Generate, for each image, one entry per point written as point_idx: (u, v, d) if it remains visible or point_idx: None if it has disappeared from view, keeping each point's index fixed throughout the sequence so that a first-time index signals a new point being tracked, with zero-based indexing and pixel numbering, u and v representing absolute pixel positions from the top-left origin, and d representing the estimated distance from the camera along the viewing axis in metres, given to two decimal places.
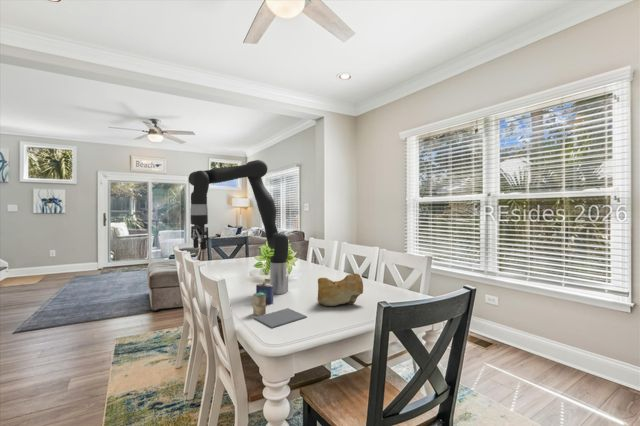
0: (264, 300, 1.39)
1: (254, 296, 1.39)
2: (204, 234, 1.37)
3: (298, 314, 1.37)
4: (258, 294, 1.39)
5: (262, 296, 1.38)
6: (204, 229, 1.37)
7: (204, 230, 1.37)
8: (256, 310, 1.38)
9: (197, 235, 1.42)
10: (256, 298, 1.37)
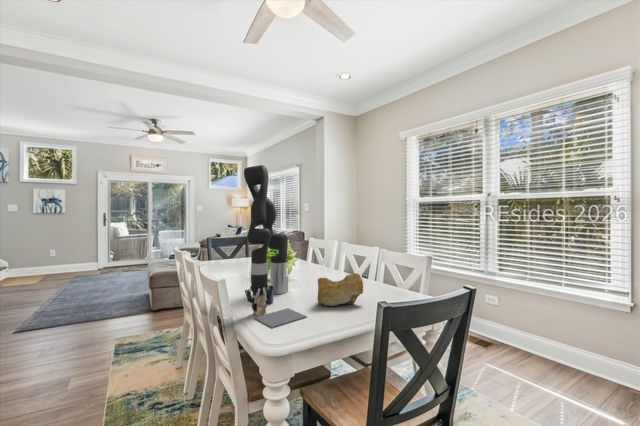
0: (264, 300, 1.39)
1: None
2: None
3: (298, 314, 1.37)
4: None
5: (262, 296, 1.38)
6: None
7: None
8: None
9: None
10: None
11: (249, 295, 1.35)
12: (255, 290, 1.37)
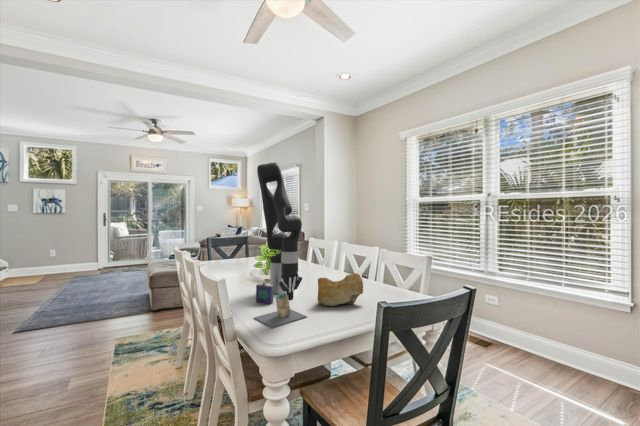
0: (287, 301, 1.34)
1: (276, 298, 1.34)
2: None
3: (298, 314, 1.37)
4: (280, 295, 1.34)
5: (285, 298, 1.33)
6: None
7: None
8: (280, 312, 1.33)
9: (291, 283, 1.36)
10: (279, 300, 1.32)
11: (282, 285, 1.33)
12: (286, 280, 1.34)
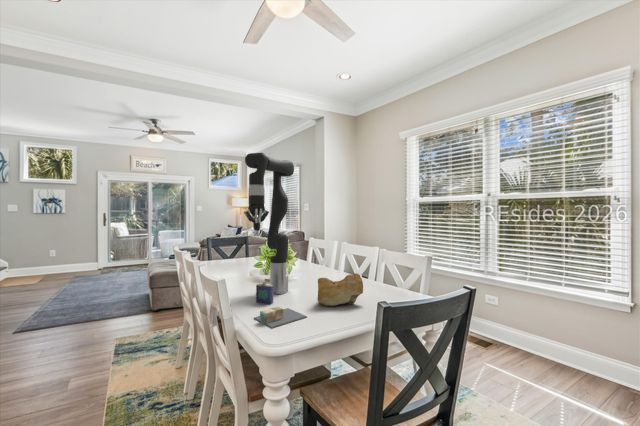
0: (270, 313, 1.28)
1: None
2: None
3: (298, 314, 1.37)
4: (262, 317, 1.28)
5: (267, 316, 1.27)
6: None
7: None
8: None
9: (258, 215, 1.47)
10: None
11: (249, 215, 1.44)
12: (253, 211, 1.45)
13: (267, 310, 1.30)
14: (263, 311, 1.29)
